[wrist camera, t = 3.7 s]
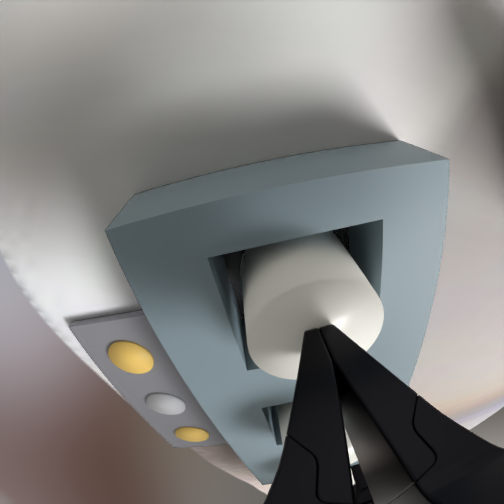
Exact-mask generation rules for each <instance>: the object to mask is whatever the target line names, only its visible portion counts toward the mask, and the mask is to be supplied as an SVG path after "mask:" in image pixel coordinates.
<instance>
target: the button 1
mask: <svg viewBox="0 0 504 504" xmlns="http://www.w3.org/2000/svg"><path fill="white" fill-rule="evenodd" d="M240 274H241V285H242V296H243V306H244V316H245V326H246V336H247V346H248V351H249V354H250V356H251V359H252V360H253V361H254V363H255V364H256V365H257V366H258V367H259V368H260V369H262V370H263V371H265V372H267V373H268V374H270V375H273V376H276V377H280V378H284V379H291V380H297V374H298V368H299V362H300V355H301V349H302V342H303V335H304V332H305V331H306V330H310V329H314V328H318V329H319V328H320V327H322V326H326V325H330V324H333V325H335V326H336V327H337V328H339V329H340V330H341V331H342V332H343V333H345V334H346V335H347V336H348V337H349V338H351V339H352V340H353V341H354V342H355V343H357V344H358V345H359V346H360V347H361V348H363V349H364V350H365V351H367V350H368V349H369V348H370V347H371V346H372V344H373V343H374V342H375V340H376V339H377V337H378V335H379V333H380V331H381V328H382V325H383V320H384V310H383V305H382V302H381V300H380V298H379V296H378V295H377V293H376V292H375V290H374V289H373V287H372V286H371V284H370V283H369V281H368V280H367V278H366V277H365V275H364V274H363V273H362V271H361V270H360V268H359V267H358V265H357V264H356V262H355V261H354V260H353V258H352V257H351V255H350V254H349V253H348V251H347V250H346V248H345V247H344V246H343V244H342V243H341V241H340V240H339V239H338V237H337V236H336V235H335V234H334V233H333V231H327V232H322V233H317V234H313V235H308V236H304V237H299V238H295V239H290V240H286V241H281V242H277V243H272V244H268V245H263V246H259V247H254V248H250V249H246V250H245V252H244V255H243V257H242V261H241V267H240Z"/></svg>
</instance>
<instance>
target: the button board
mask: <svg viewBox="0 0 504 504" xmlns="http://www.w3.org/2000/svg"><path fill="white" fill-rule="evenodd" d="M448 192H449V159H447V158H445V157H443V156H440V155H438V154H435V153H433V152H430V151H427V150H425V149H422V148H420V147H417V146H414V145H411V144H409V143H406V142H403V141H391V142H381V143H373V144H365V145H357V146H350V147H343V148H336V149H329V150H323V151H317V152H311V153H305V154H300V155H294V156H289V157H283V158H278V159H273V160H268V161H263V162H258V163H254V164H249V165H245V166H240V167H236V168H231V169H227V170H223V171H219V172H214V173H210V174H206V175H202V176H199V177H195V178H191V179H187V180H183V181H180V182H176V183H172V184H169V185H165V186H162V187H158V188H155V189H151V190H148V191H145V192H141V193H138V194H135V195H134V196H133V197H132V198H131V199H130V200H129V201H128V203H127V204H126V205H125V206H124V207H123V209H122V210H121V211H120V212H119V214H118V215H117V216H116V217H115V218H114V220H113V221H112V222H111V223H110V225H109V226H108V227H107V229H106V230H105V232H106V234H107V237H108V239H109V241H110V244H111V246H112V248H113V250H114V253H115V255H116V257H117V259H118V261H119V264H120V266H121V268H122V270H123V272H124V274H125V276H126V278H127V280H128V282H129V284H130V286H131V288H132V290H133V292H134V294H135V296H136V298H137V300H138V302H139V304H140V306H141V308H142V310H143V312H144V313H145V315H146V317H147V319H148V321H149V323H150V325H151V326H152V328H153V330H154V332H155V333H156V335H157V337H158V339H159V340H160V342H161V344H162V346H163V347H164V349H165V351H166V352H167V354H168V356H169V357H170V359H171V361H172V362H173V364H174V366H175V367H176V369H177V370H178V372H179V373H180V375H181V377H182V378H183V380H184V381H185V383H186V384H187V386H188V387H189V389H190V390H191V392H192V394H193V395H194V396H195V398H196V399H197V401H198V402H199V404H200V405H201V407H202V408H203V410H204V411H205V412H206V414H207V415H208V417H209V418H210V419H211V421H212V422H213V424H214V425H215V426H216V428H217V429H218V430H219V432H220V433H221V434H222V436H223V437H224V438H225V440H226V441H227V442H228V444H229V445H230V446H231V447H232V449H233V450H234V451H235V453H236V454H237V455H238V456H239V458H240V459H241V460H242V461H243V462H244V464H245V465H246V466H247V467H248V469H249V470H250V471H251V472H252V473H253V474H254V476H255V477H256V478H257V479H258V480H259V481H260V483H261V484H262V485H266V484H272V482H273V480H274V477H275V474H276V472H277V469H278V466H279V462H280V458H281V454H282V451H283V444H282V438H281V432H280V426H279V420H278V414H277V407H278V405H280V404H285V403H290V402H293V397H294V391H295V385H296V380H291V379H284V378H280V377H276V376H273V375H270V374H268V373H267V372H265V371H263V370H262V369H260V368H259V367H258V366H257V365H256V364H255V363H254V361H253V360H252V359H251V356H250V354H249V351H248V346H247V336H246V326H245V318H242V316H241V313H240V309H239V306H238V303H237V300H236V296H235V293H234V290H233V287H232V283H231V280H230V277H229V273H228V270H227V267H226V263H225V260H224V256H223V254H227V253H232V252H236V251H241V250H245V249H250V248H254V247H259V246H263V245H268V244H272V243H277V242H281V241H286V240H290V239H295V238H299V237H304V236H308V235H313V234H317V233H322V232H327V231H331V230H336V229H340V228H345V227H349V248H350V255H351V257H352V258H353V260H354V261H355V262H356V264H357V265H358V267H359V268H360V270H361V271H362V273H363V274H364V275H365V277H366V278H367V280H368V281H369V283H370V284H371V286H372V287H373V289H374V290H375V292H376V293H377V295H378V296H379V298H380V300H381V302H382V305H383V310H384V320H383V325H382V328H381V331H380V333H379V335H378V337H377V339H376V340H375V342H374V343H373V344H372V346H371V347H370V348H369V349H368V350H367V351H366V352H367V353H369V354H370V355H371V356H372V357H374V358H375V359H376V360H377V361H378V362H380V363H381V364H382V365H383V366H384V367H386V368H387V369H388V370H389V371H390V372H392V373H393V374H394V375H395V376H397V377H398V378H399V379H400V380H401V381H403V382H404V383H405V384H406V385H407V386H409V383H410V380H411V377H412V374H413V371H414V368H415V365H416V362H417V359H418V356H419V353H420V350H421V346H422V343H423V340H424V336H425V332H426V329H427V325H428V321H429V317H430V313H431V309H432V305H433V300H434V296H435V291H436V286H437V281H438V276H439V270H440V264H441V258H442V251H443V244H444V236H445V228H446V218H447V207H448ZM356 464H359V462H358V461H356V462H354V463H352V464H350V466H353V465H356Z"/></svg>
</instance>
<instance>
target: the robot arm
mask: <svg viewBox="0 0 504 504" xmlns="http://www.w3.org/2000/svg"><path fill="white" fill-rule="evenodd" d="M345 429H346V431H347V434H348V436H349V439H350V441H351V444H352V446H353V449H354V452H355V454H356V457H357V459H358V462H359V464H356V465H353V466H350V459H349V452H348V445H347V439H346V432H345ZM286 435H287V436H286V437H285V441H284V446H283V451H282V454H281V458H280V462H279V466H278V469H277V472H276V474H275V477H274V480H273V482H272V485H271V488H270V490H269V492H268V495H267V497H266V499H265V502H264V504H504V448H501V447H498V446H496V445H493V444H491V443H490V442H488V441H486V440H484V439H482V438H481V437H479V436H478V435H476V434H474V433H473V432H471V431H469V430H468V429H466V428H464V427H463V426H461V425H459V424H458V423H456V422H455V421H453V420H452V419H450V418H449V417H447V416H446V415H444V414H443V413H441V412H440V411H439V410H437V409H436V408H435V407H433V406H432V405H431V404H429V403H428V402H427V401H426V400H425V399H423V398H422V397H421V396H420V395H418V396H417V393H416V392H415V391H414V390H412V389H411V388H410V387H409V386H407V385H406V384H405V383H404V382H403V381H401V380H400V379H399V378H398V377H397V376H395V375H394V374H393V373H392V372H390V371H389V370H388V369H387V368H386V367H384V366H383V365H382V364H381V363H380V362H378V361H377V360H376V359H375V358H374V357H372V356H371V355H370V354H369V353H367V352H366V351H365V350H364V349H363V348H361V347H360V346H359V345H358V344H357V343H355V342H354V341H353V340H352V339H351V338H349V337H348V336H347V335H346V334H345V333H343V332H342V331H341V330H340V329H339V328H337V327H336V326H335V325H333V324H330V325H326V326H322V327H320V328H319V329H318V328H314V329H310V330H306V331H305V332H304V335H303V342H302V349H301V355H300V362H299V368H298V374H297V380H296V385H295V391H294V397H293V402H292V407H291V413H290V418H289V423H288V428H287V433H286ZM351 471H352V474H353V478H354V481H355V484H354V485H353V481H352V474H351Z"/></svg>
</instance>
